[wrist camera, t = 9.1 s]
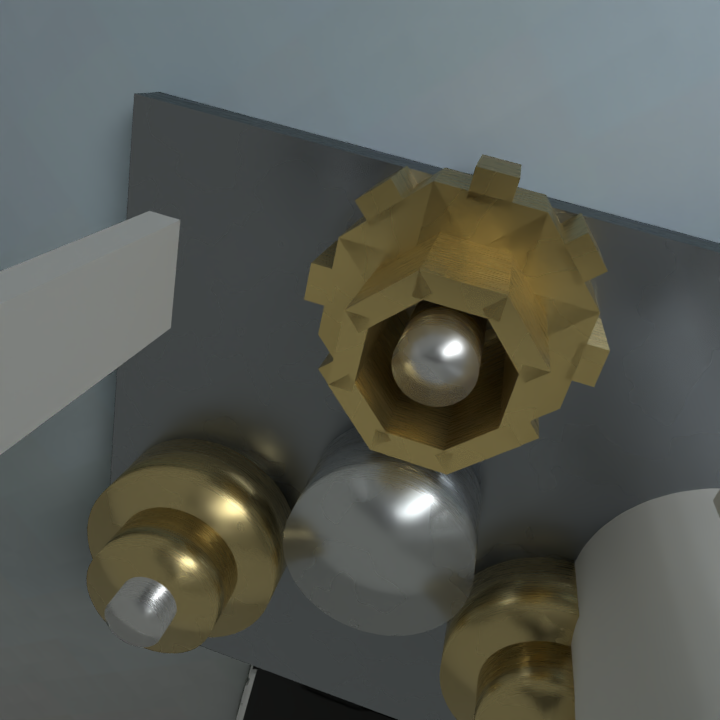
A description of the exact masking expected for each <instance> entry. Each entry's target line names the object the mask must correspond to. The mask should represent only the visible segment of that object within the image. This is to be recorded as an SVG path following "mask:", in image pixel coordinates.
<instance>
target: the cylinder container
mask: <svg viewBox="0 0 720 720" xmlns="http://www.w3.org/2000/svg"><path fill="white" fill-rule="evenodd" d="M719 489H720V488H710V489H698V490H690V491H683V492H677V493H673V494H669V495H665V496H662V497H658V498H655V499H652V500H649V501H646V502H644V503H641V504H639V505H637V506H635V507H633V508H631V509H629V510H627V511H625V512H623V513H621V514H620V515H618V516H617V517H615V518H614V519H612V520H611V521H610V522H608V523H607V524H606V525H604V526H603V527H602V528H601V529H599V530H598V531H597V532H596V533H595V534H594V536H593V537H592V538H591V539H590V540H589V541H588V542H587V543H586V545H585V546H584V547H583V549H582V550H581V552H580V554H579V556H578V557H577V559H576V561H575V573H576V584H577V595H578V607H579V618H578V620H577V623H576V626H575V629H574V633H573V637H572V642H571V651H572V666H573V681H574V695H575V720H720V518H719V515H718V513H717V510H716V507H715V505H714V502H713V499H714V498H715V496H716V494H717V493H718V491H719Z"/></svg>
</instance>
